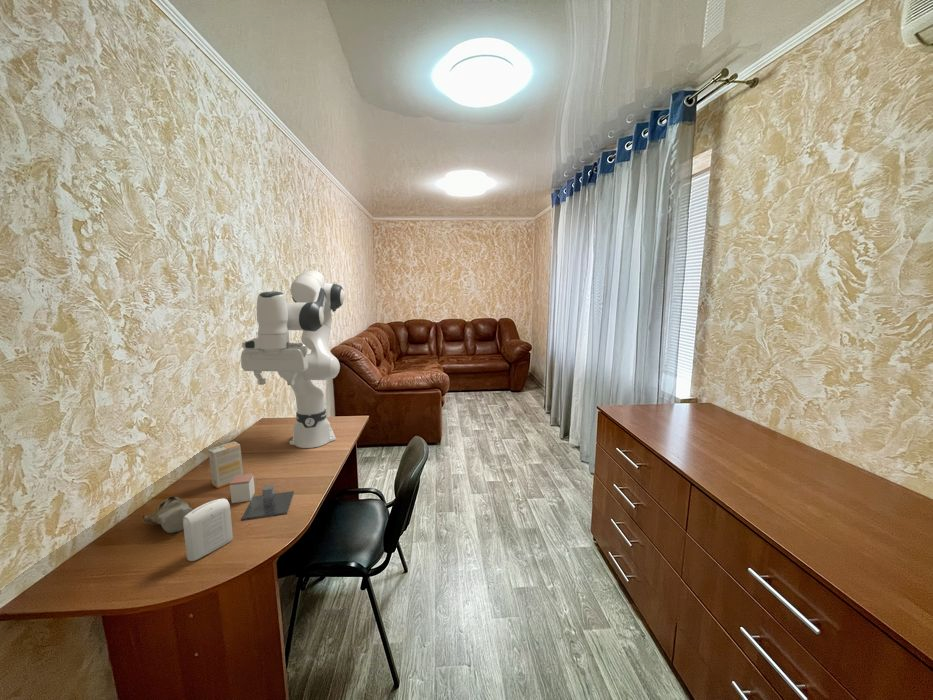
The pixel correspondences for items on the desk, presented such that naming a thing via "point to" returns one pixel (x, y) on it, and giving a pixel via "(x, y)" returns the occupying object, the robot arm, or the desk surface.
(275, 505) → the grey square base plate
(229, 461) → the supplement box
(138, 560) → the desk surface
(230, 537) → the photo printer
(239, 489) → the pink and white block
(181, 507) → the ceramic sculpture
